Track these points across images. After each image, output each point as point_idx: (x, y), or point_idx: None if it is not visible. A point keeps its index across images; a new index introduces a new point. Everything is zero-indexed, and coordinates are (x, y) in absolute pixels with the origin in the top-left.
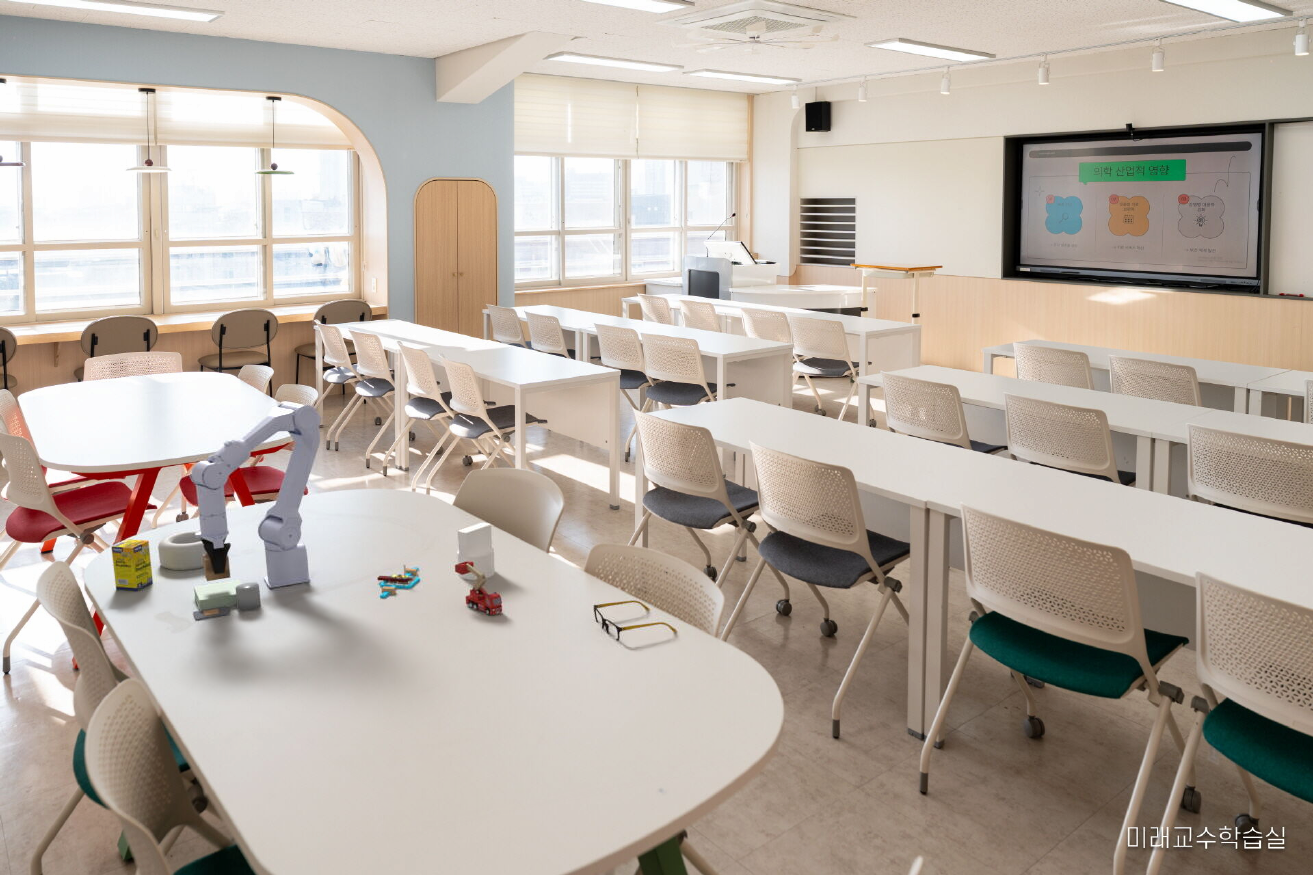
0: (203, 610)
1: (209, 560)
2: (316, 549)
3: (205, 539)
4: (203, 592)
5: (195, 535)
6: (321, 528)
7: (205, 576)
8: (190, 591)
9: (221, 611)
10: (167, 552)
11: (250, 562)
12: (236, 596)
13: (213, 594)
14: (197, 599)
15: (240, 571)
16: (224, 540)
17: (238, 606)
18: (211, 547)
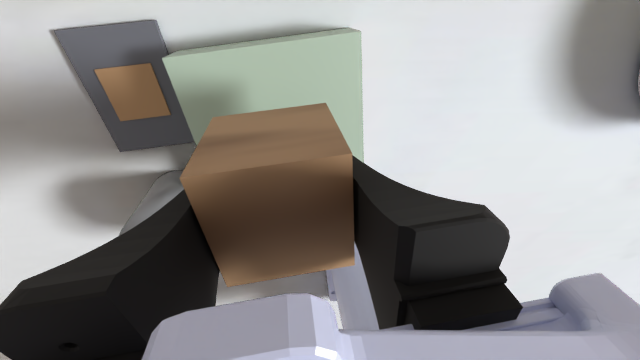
0: (163, 63)
1: (192, 200)
2: (523, 292)
3: (404, 261)
4: (268, 74)
5: (255, 315)
6: (633, 291)
7: (276, 110)
8: (425, 9)
9: (142, 127)
10: None
11: (557, 187)
12: (158, 195)
13: (229, 114)
14: (253, 42)
15: (508, 167)
16: (380, 324)
17: (159, 180)
18: (17, 355)
